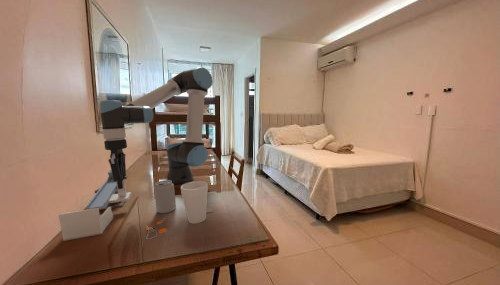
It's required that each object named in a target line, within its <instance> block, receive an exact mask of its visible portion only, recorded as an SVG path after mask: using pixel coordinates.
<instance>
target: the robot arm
mask: <svg viewBox="0 0 500 285" xmlns="http://www.w3.org/2000/svg"><path fill="white" fill-rule="evenodd" d="M213 83H214V82H213V76H212V74H211V73H210V71H209V70H208V69H207V68H205V67H204V66H203V67H202V66H200V67H199V66H198V67H195V68H190V69H187V70H183V71H181V72H180V73H178V74H176V75H175V76H173V77H171V78H169V79H168V80H167V81H166V83H164V84H162V85H161V86H159V87H157V88H155V89H153V90H151V91H150V92H148V93H147V94H144V95H142V96H140V97H138V98H137V99H135V100H133V101H131V102H130V103H128V104H126V105H123V103H122V101H121V100H115V99H104V100H101V101H99V115H100V120H101V126H102V128H101V129H102V132H101V134H102V135H103V139H104V149H105V150H106V151H110V154H109V158H108V164H109V165H110V170H112V174H113V179H114V182H116V183H117V190H118V196H125V195H126V194H127V187H126V179H128V177H127V171H126V170H127V169H126V153H125V152H124V149H126V148H127V147H128V144H127V139H126V138H127V136H126V134H127V133H126V126H125V125H130V124H148V123H149V124H150V123H151V122H153V120H154V111H153V109H154V108H157V107H158V106H159V105H161V104H162V103H164V102H166V101H168V100H170V99H171V98H173V97H174V96H180V95H181V94H183V93H187V95H188V100H187V112H186V113H187V116H186V129H185V138H184V139H183V140H182V141H180V142H179V141H178V142H174V143H168V144H167V145H166V153H167V162H168V163H167V164H168V171H167V176H166V180H170V181H172V183H173V184H174V185H179V184H180V185H181V184H182V185H183V184H186V183H189V182H192V181H193V180H194V174H193V172H192V169H191V167H200V166H203V164H204V163H206V161H207V159H208V156H209V152H208V151H209V150H208V149H207V148H206V146H205V141H204V140H203V128H204V127H203V125H204V114H205V112H204V111H205V110H204V109H205V97H206V96H207V95H208V93H209V92H208V91H209V89H210V88H211V87H213Z"/></svg>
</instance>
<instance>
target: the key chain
mask: <svg viewBox="0 0 500 285" xmlns="http://www.w3.org/2000/svg"><path fill="white" fill-rule="evenodd" d="M165 220H167V217H163V218H162V219H161V220H159V221H157V222H156V224H154V225H153V226H154V228H155V229H152V227H153V226H149V229H148V228H147V229H146V228H145V231H147V230H148V231H147V234H146V236H145V237H146V238H145V240H151V239H155V238H157V237H158V233H159V234H162V233H165V232H166V231H167V230H168V229H167V228H165V227H164V228H160V229H159V230H158V229H157V228H156V227H155V226H157V225H161V224H163V222H164V221H165ZM154 231H155V232H154ZM153 233H155V236H152V237H149V234H153Z"/></svg>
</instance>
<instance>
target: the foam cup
mask: <svg viewBox="0 0 500 285" xmlns="http://www.w3.org/2000/svg"><path fill="white" fill-rule="evenodd" d="M208 191H209V185H208V182H207V181H204V180H196V181H189V182H186V183H182V185H181V186H180V193H181V196H182V199H183V200H182V201H183V204H184V207H185V212H186V216H187V221H188V223H189V224H200V223H202V222H204V221H205V220H206V218H207V207H208V206H207V204H208Z"/></svg>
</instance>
